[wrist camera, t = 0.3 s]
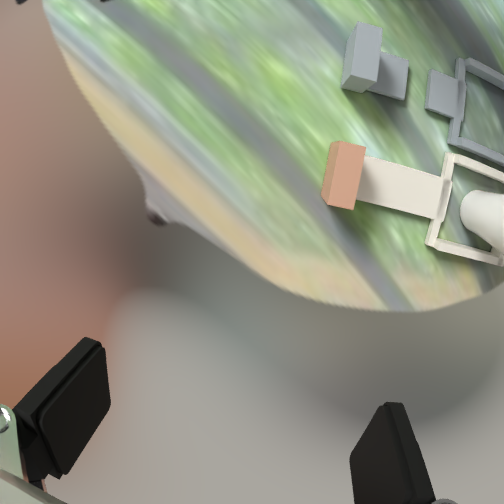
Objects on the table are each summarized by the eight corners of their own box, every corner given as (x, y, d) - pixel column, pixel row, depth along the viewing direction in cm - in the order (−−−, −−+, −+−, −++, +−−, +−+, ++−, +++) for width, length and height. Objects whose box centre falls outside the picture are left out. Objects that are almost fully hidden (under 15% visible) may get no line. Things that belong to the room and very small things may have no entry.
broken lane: (349, 22, 28) (360, 0, 22) (523, 95, 27) (552, 91, 21) (336, 110, 32) (346, 101, 26) (515, 172, 31) (544, 178, 25)
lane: (334, 119, 32) (344, 112, 26) (514, 180, 31) (543, 187, 25) (315, 218, 36) (321, 232, 30) (493, 261, 34) (519, 278, 28)
